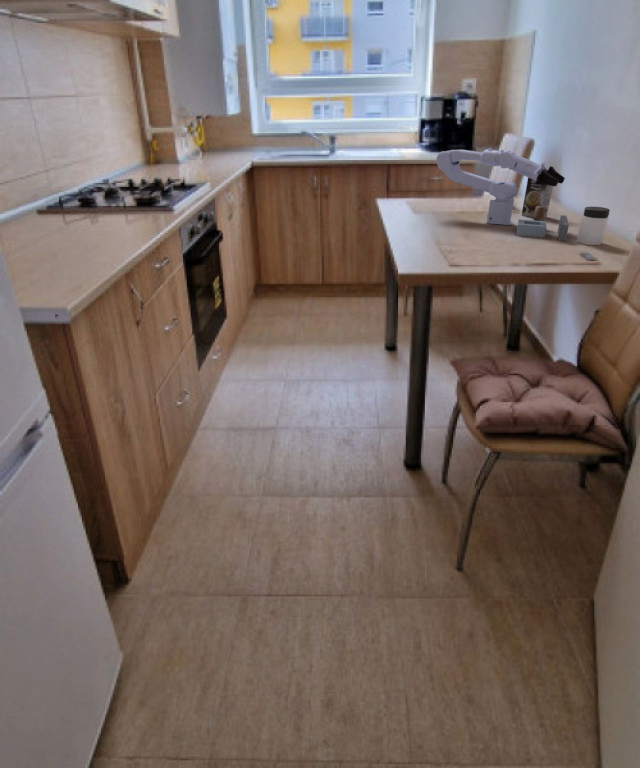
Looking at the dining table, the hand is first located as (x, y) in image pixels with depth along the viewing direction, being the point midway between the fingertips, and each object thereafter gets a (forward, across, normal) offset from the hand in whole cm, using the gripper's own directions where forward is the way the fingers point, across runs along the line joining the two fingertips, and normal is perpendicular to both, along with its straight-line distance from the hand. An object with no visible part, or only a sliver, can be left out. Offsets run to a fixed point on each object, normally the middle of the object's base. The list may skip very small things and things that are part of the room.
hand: (560, 182), depth 217 cm
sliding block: (+1, -12, +18) cm, 22 cm away
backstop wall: (+11, -8, +15) cm, 21 cm away
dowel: (0, 0, +19) cm, 19 cm away
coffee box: (-9, +22, +22) cm, 33 cm away
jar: (+22, -12, +12) cm, 28 cm away
